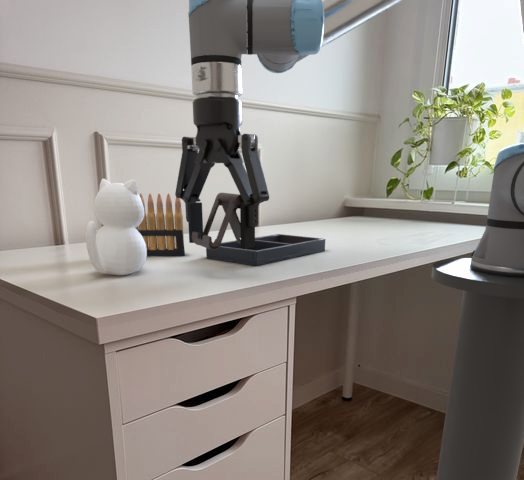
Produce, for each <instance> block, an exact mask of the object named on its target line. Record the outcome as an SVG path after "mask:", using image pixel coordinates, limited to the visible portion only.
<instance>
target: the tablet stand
mask: <svg viewBox="0 0 524 480" xmlns="http://www.w3.org/2000/svg"><path fill="white" fill-rule="evenodd" d="M243 203H244V201H243V199H242V197H241V195H240V193H231V192H229V193H228V192H219V193H217V195H216V197H215V199H214V202H213V204H212V207H211V210H210V213H209V216H208V218H207V221H206V224H205V226H204V228H203V234H202V235H201V237H200V233H198V232H195V231H192V241H193V243H192V244H195V245H197V246H200V247H203V248H205V249H206V248H208V249H209V250H213V251H215V250H218V249H219V247H220V245H221V243H223V239H224V237H225V234H226V231H227V228H228V226H229V227H230V228H231V231H232V233H233V236H234V238H235V241H236V240H237V242H238V243H239V244H241V226H240V218H239V215H238V213H237V210H238V209H239V210H240V206H243V205H242V204H243ZM220 206H221V207H222V210H223V211H224V217H223V219H222V222H221V225H220V228H219V230H218V232H217V236H216V238H215V239H214V241H213V239H212V236H210V235H209V233H210V230H211V228H212V225H213V222H214V221H215V217H216V214H217V211H218V208H220Z"/></svg>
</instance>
